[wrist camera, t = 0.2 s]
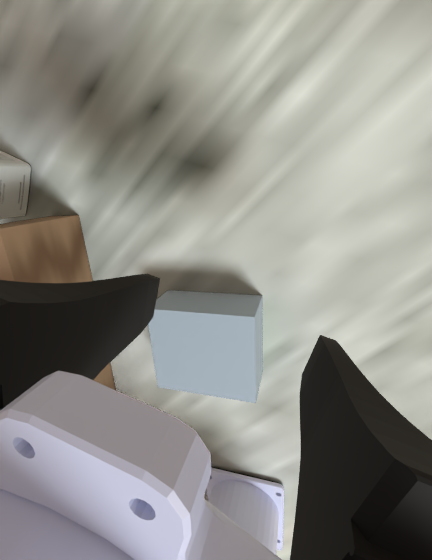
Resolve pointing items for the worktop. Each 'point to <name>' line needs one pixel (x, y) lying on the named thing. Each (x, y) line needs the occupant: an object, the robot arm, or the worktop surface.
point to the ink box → (13, 186)
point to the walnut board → (47, 257)
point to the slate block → (208, 343)
